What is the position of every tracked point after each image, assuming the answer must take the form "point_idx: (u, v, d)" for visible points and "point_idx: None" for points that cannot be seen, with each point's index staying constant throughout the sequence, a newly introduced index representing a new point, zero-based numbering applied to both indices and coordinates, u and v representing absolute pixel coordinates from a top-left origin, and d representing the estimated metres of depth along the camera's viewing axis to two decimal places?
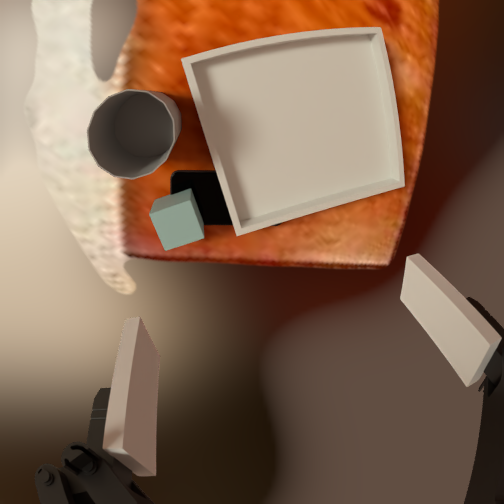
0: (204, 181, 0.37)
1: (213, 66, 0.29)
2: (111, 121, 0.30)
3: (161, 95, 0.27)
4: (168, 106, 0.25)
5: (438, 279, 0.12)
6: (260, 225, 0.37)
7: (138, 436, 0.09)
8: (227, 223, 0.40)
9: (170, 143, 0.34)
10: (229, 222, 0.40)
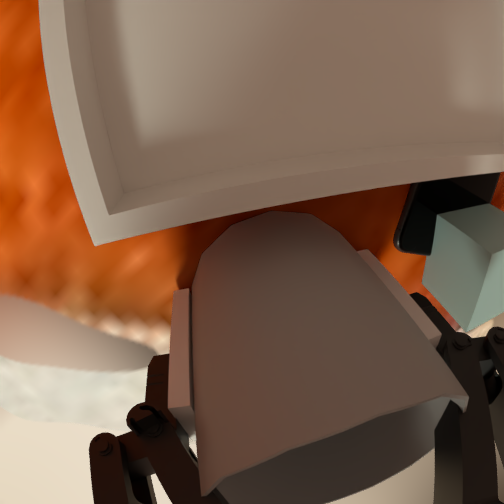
0: (434, 184, 0.14)
1: (131, 122, 0.09)
2: None
3: (220, 315, 0.10)
4: (294, 391, 0.06)
5: (382, 274, 0.13)
6: None
7: None
8: None
9: None
10: None
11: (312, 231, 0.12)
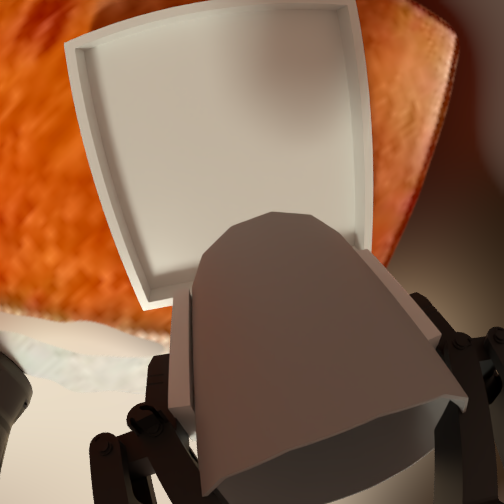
0: None
1: (151, 267, 0.27)
2: None
3: (220, 316, 0.10)
4: (294, 392, 0.06)
5: (382, 274, 0.13)
6: (368, 233, 0.26)
7: None
8: None
9: None
10: None
11: (312, 232, 0.12)
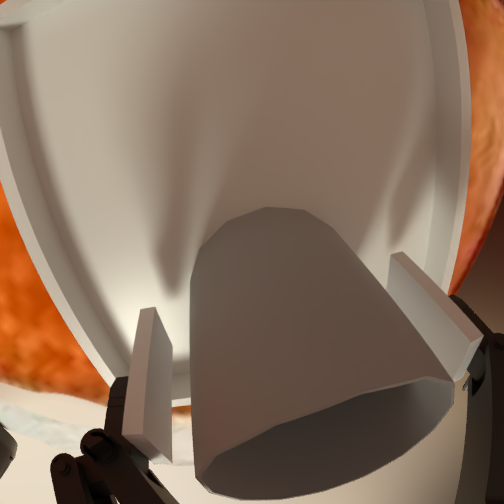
0: None
1: None
2: None
3: (215, 304, 0.10)
4: (282, 371, 0.06)
5: (421, 276, 0.12)
6: None
7: (156, 423, 0.09)
8: None
9: None
10: None
11: (304, 226, 0.13)
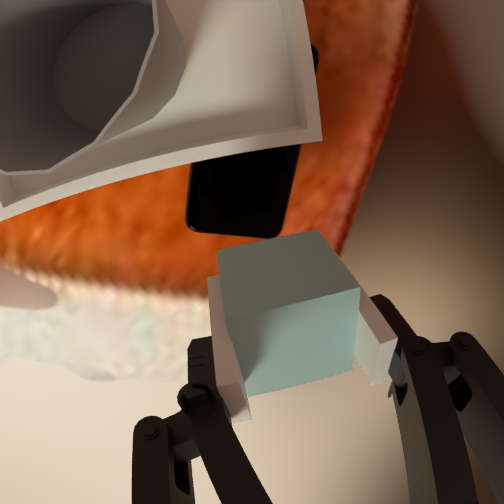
0: (207, 178, 0.20)
1: None
2: (84, 133, 0.14)
3: (34, 24, 0.08)
4: None
5: None
6: (309, 89, 0.15)
7: (241, 377, 0.11)
8: (297, 145, 0.20)
9: None
10: None
11: None
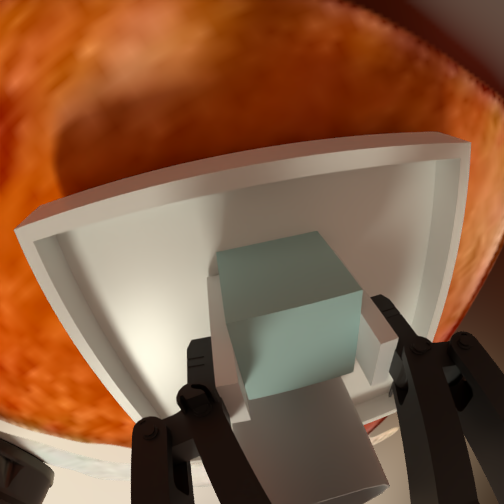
0: None
1: None
2: None
3: (255, 436, 0.15)
4: (295, 486, 0.11)
5: None
6: None
7: (240, 377, 0.11)
8: None
9: None
10: None
11: None
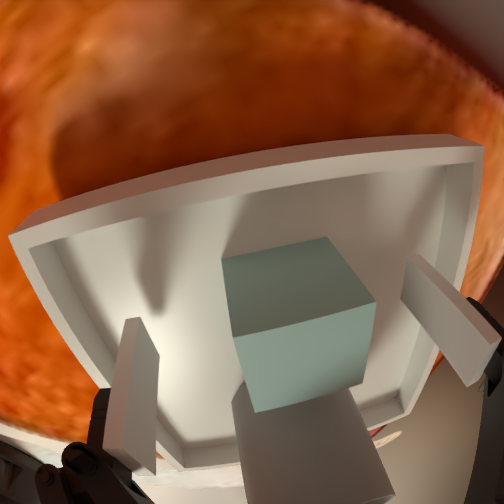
0: None
1: (184, 438, 0.22)
2: None
3: (260, 447, 0.14)
4: (301, 498, 0.11)
5: (438, 279, 0.12)
6: (414, 399, 0.21)
7: (138, 436, 0.09)
8: None
9: None
10: None
11: None
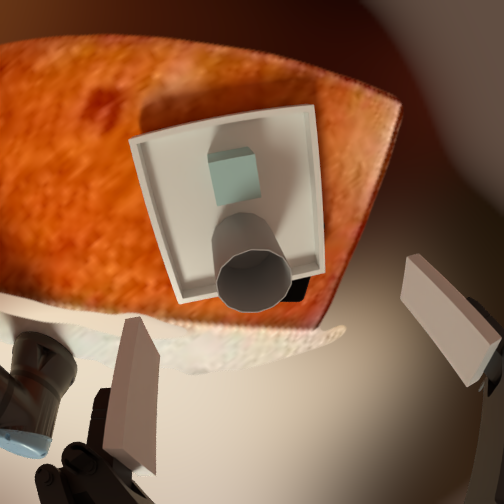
0: None
1: (184, 276, 0.43)
2: (233, 274, 0.42)
3: (221, 240, 0.36)
4: (236, 248, 0.32)
5: (438, 279, 0.12)
6: (321, 255, 0.43)
7: (138, 436, 0.09)
8: None
9: None
10: None
11: (250, 218, 0.38)
